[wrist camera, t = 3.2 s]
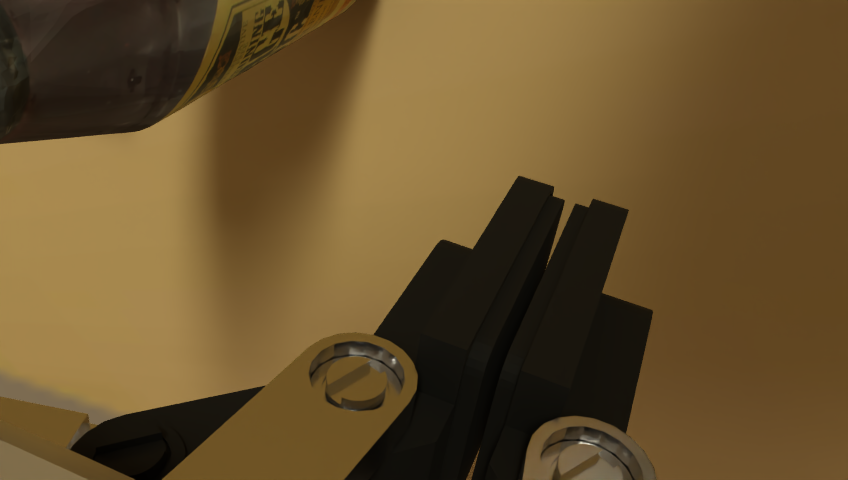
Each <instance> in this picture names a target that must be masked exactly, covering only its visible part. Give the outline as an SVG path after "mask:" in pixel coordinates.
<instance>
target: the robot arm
mask: <svg viewBox="0 0 848 480" xmlns="http://www.w3.org/2000/svg"><path fill="white" fill-rule="evenodd" d="M553 192H554V186H550V185H547V184H544V183H541V182H538V181H534V180H531V179H528V178H525V177H521V176H518V178H517V179H516V180H515V182H514V184H513V185H512V187H511V189H510V190H509V192H508V193H507V195H506V197H505V198H504V200H503V201H502V203H501V205H500V206H499V208H498V209H497V211H496V213H495V214H494V216H493V218H492V219H491V221H490V222H489V224H488V226H487V227H486V229H485V230H484V232H483V234H482V235H481V237H480V239H479V240H478V242H477V243H476V245H475V247H474V248H473V249H470V248H467V247H464V246H461V245H458V244H456V243H453V242H450V241H447V240H440V242H439V243H438V244H437V245H436V246H435V248H434V249H433V251H432V252H431V253H430V255H429V256H428V258H427V259H426V261H425V262H424V263H423V265H422V266H421V268H420V269H419V271H418V272H417V273H416V275H415V276H414V278H413V279H412V281H411V282H410V283H409V285H408V286H407V288H406V289H405V291H404V292H403V293H402V295H401V296H400V298H399V299H398V301H397V302H396V303H395V305H394V306H393V308H392V309H391V311H390V312H389V313H388V315H387V316H386V318H385V319H384V321H383V322H382V323H381V325H380V326H379V328H378V329H377V331H376V332H375V333H374V335H370V334H363V333H356V332H355V333H343V334H336V335H333V336H330V337H326V338H323V339H321V340H319V341H318V342H316V343H315V344H313V345H312V346H310V347H309V348H307V349H306V350H305V351H304V352H303V353H302V354H301V355H300V356H298V357H297V358H296V359H295V360H294V361H293V362H292V363H291V364H290V365H288V366H287V367H286V368H285V369H284V370H283V371H282V372H281V373H280V374H278V375H277V376H276V377H275V378H274V379H273V380H272V381H271V382H270V383H268V384H267V385H266V386H262V387H257V388H252V389H247V390H242V391H238V392H233V393H228V394H223V395H218V396H213V397H208V398H204V399H199V400H194V401H189V402H184V403H179V404H175V405H170V406H165V407H160V408H155V409H150V410H146V411H141V412H136V413H131V414H126V415H123V416H120V417H116V418H113V419H110V420H107V421H104V422H103V423H101V424H99V425H95V424H90V423H89V417H88V414H85V413H80V412H75V411H70V410H65V409H60V408H55V407H50V406H45V405H40V404H35V403H30V402H25V401H20V400H15V399H10V398H5V397H0V480H466V478H467V476H468V474H469V471H470V469H471V467H472V464H473V462H474V460H475V457H476V455H477V453H478V450H479V448H480V450H479V454H478V457H477V461H476V465H475V469H474V472H473V476H472V480H657V479H656V475H655V470H654V467H653V465H652V463H651V462H650V460H649V458H648V456H647V455H646V453H645V451H644V450H643V449H642V448H641V447H640V446H639V445H638V444H637V443H636V442H635V441H634V440H633V439H632V438H631V437H630V436H628V435H627V434H626V431H627V427H628V422H629V418H630V413H631V409H632V404H633V400H634V395H635V391H636V387H637V382H638V378H639V373H640V369H641V364H642V360H643V355H644V351H645V346H646V342H647V337H648V333H649V329H650V324H651V320H652V314H653V311H652V310H650V309H647V308H644V307H641V306H638V305H635V304H632V303H629V302H627V301H624V300H621V299H618V298H615V297H612V296H609V295H606V294H603V293H602V290H603V287H604V284H605V281H606V278H607V275H608V272H609V269H610V266H611V263H612V260H613V257H614V254H615V251H616V248H617V244H618V241H619V238H620V235H621V232H622V229H623V226H624V223H625V220H626V217H627V214H628V211H629V210H628V209H624V208H621V207H618V206H615V205H611V204H608V203H605V202H602V201H599V200H595V199H593V200H592V202H591V204H590V206H589V208H588V207H585V206H582V205H579V204H575V206H574V208H573V210H572V212H571V215H570V217H569V219H568V221H567V223H566V226H565V228H564V230H563V232H562V235H561V237H560V239H559V241H558V243H557V246H556V248H555V250H554V252H553V254H552V257H551V259H550V261H549V263H548V265H547V262H548V259H549V256H550V252H551V249H552V245H553V242H554V238H555V235H556V231H557V228H558V224H559V221H560V217H561V214H562V210H563V206H564V202H565V200H563V199H560V198H557V197H553ZM546 266H547V268H546ZM545 269H546V270H545Z"/></svg>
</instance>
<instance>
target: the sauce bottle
mask: <svg viewBox="0 0 848 480" xmlns="http://www.w3.org/2000/svg"><path fill="white" fill-rule="evenodd" d="M355 1H356V0H0V144H5V143H17V142H28V141H39V140H50V139H61V138H72V137H82V136H93V135H103V134H115V133H127V132H136V131H140V130H143V129H145V128H148V127H150V126H152V125H154V124H156V123H157V122H159V121H161V120H163V119H164V118H166V117H168V116H170V115H171V114H173V113H175V112H177V111H178V110H180V109H182V108H184V107H185V106H187V105H188V104H190V103H192V102H193V101H195V100H197V99H198V98H200V97H201V96H203V95H205V94H207V93H208V92H210V91H212V90H213V89H215V88H217V87H218V86H220V85H222V84H223V83H225V82H227V81H228V80H230V79H232V78H234V77H236V76H237V75H239V74H241V73H243V72H245V71H247V70H248V69H250V68H251V67H253V66H254V65H256V64H258V63H259V62H261V61H262V60H264V59H266V58H267V57H269V56H271V55H273V54H274V53H276V52H278V51H279V50H281V49H283V48H284V47H286V46H288V45H289V44H291V43H293V42H294V41H296V40H298V39H299V38H301V37H303V36H304V35H306V34H308V33H309V32H311V31H313V30H315V29H316V28H318V27H320V26H321V25H323V24H325V23H326V22H328V21H330V20H331V19H333V18H334V17H336V16H338V15H340V14H341V13H343V12H345V11H346V10H347V9H348V8H349V7H350V6H351V5H352V4H353V3H354V2H355Z"/></svg>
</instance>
